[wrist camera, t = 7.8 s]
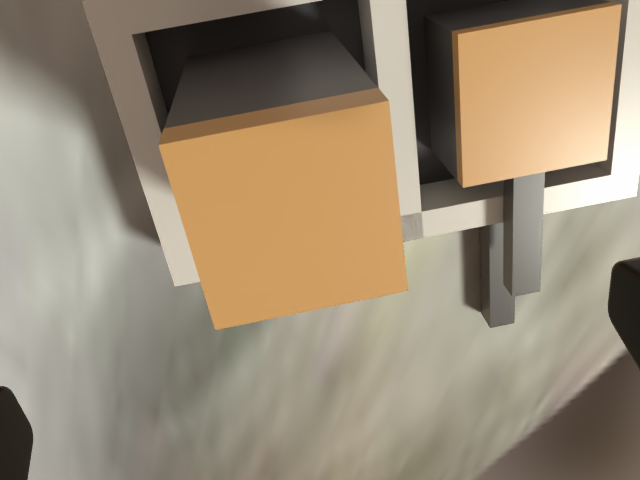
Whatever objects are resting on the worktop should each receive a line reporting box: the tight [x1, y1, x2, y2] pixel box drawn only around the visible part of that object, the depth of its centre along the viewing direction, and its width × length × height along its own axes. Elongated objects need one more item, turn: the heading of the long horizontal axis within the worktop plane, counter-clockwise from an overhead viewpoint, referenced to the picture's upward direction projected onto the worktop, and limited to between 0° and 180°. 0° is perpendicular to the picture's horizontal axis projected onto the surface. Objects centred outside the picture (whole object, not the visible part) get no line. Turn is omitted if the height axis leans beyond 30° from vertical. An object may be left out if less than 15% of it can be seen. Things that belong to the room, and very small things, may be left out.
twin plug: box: [423, 0, 622, 328], centre depth 20 cm, size 4×12×4 cm, turn 9°
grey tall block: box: [158, 30, 408, 330], centre depth 16 cm, size 4×4×8 cm
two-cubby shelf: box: [82, 0, 640, 286], centre depth 19 cm, size 16×9×2 cm, turn 99°
